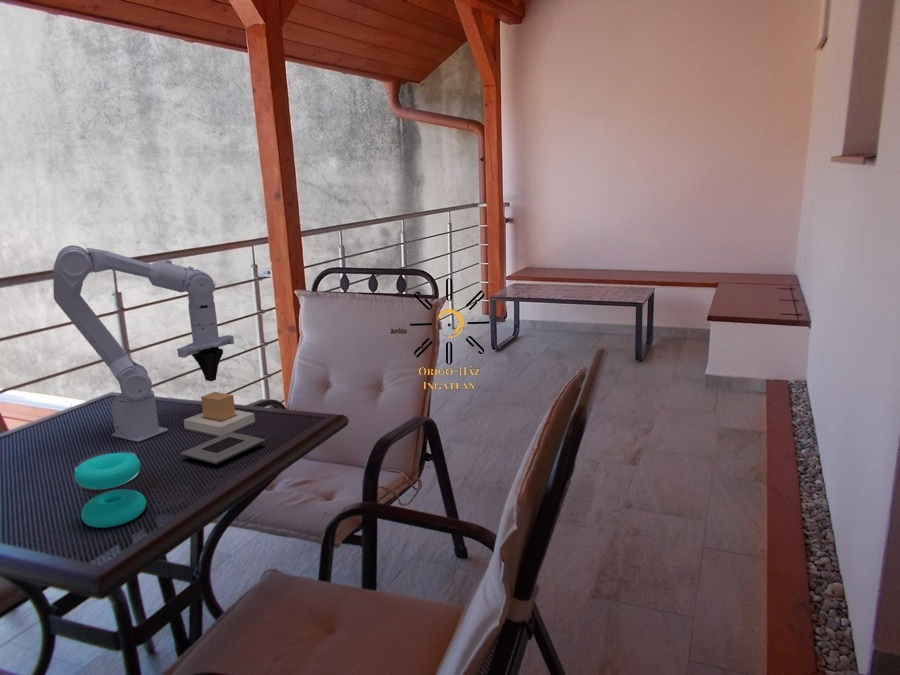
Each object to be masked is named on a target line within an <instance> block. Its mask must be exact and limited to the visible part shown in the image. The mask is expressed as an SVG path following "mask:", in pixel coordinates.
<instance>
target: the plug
mask: <svg viewBox="0 0 900 675" xmlns="http://www.w3.org/2000/svg"><path fill="white" fill-rule="evenodd" d="M200 399H201V408H202V413H203V416H204V419H208V420H213V421H218V422H223V421H225V420H228V419H230V418H233V417H235V416H236V415H235V410H236V408H235V400H234V394H230V393H223V392H219V391H213V392H211V393H208V394H205V395H203V396H201V397H200Z"/></svg>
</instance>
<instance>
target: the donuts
mask: <svg viewBox="0 0 900 675" xmlns="http://www.w3.org/2000/svg"><path fill="white" fill-rule="evenodd" d="M140 469H141V461H140V459H139V458H138V457H137V456H136V455H134V454H132V453H128V452H127V453H126V452H113V453H107V454H101V455H98V456H94V457H92V458H89V459H86V460H85V461H83V462H81V463H80V464H79V465H78V466H77V467H76V469H74V470H75V471H74V473H73V474H74V475H73V476H74V481H75V482H76V483H77V485H79V486H80V487H82V488H86V489H88V490H89V489H90V490H106V489H112V488H115V487H116V488H117V487H118V486H121V485H124V484H126V483H128V482H129V481H131V480H132V479H133V478H135V477H136V476H137V474H138V473H139V472H140ZM146 507H147V500H146V497H145V496H144V495H143V494H142V493H141V492H139V491H137V490H134V489H126V488H124V489H123V488H119V489H113V490H108V491H105V492H102V493H99V494H97V495H96V496H93V497H92V498H91V499H90V500H88V501H87V502H86V503H85V504H84V506H83V507H82V509H81V511H80V512H81V513H80V514H81V515H80V518H81V520H82V522H83V523H84V524H85V525H87V526H89V527H92V528H97V529H98V528H99V529H103V528H113V527H116V526H120V525H123V524H127V523H130V522H131V521H133V520H135V519H136V518H138V517H140V516H141V514H143V512H144V511H145V508H146Z"/></svg>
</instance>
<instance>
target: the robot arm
mask: <svg viewBox="0 0 900 675" xmlns="http://www.w3.org/2000/svg"><path fill="white" fill-rule="evenodd" d="M92 268H93V272H94V273H95V274H97V273H100V272H103V271H107V270H111V271H112V270H113V271H116V272H121V273H124V274H125V273H126V274H130V275H133V276H138V277H142V278H146V279H148V280H149V282H150V284H151V285H152V286H154V287H157V288H162V289H167V290H169V291H170V290H171V291H175V292H178V293H187V298H188V305H187V306H188V312H189V313H188V314H189V321H190V329H191V337H192V342H191V343H189V344H187V345H184V346H181V347H179V348H177V350H176V351H177V357H178V358H184V359H185V358H188V357H189V356H192V358H193V359H194V360H195V361H196V362H197V365H198V366H199V367H200V370H201V371H202V374H203V376H204V379H205V381H206V382H214V381H216V380H217V375H218V369H219V366H220V365H219V364H220V361H221V359H222V356H223V354H224V350H223V348H220V347H223V346H227V345H234V344H235V339H234V335H228V334H227V335H223V336H219V329H218V319H217V313H216V312H217V310H216V303H215V301H214V300H215V299H214V298H215V297H214V292H215V289H216V283H215V282H214V280H213V277H211V276H210V275H209V274H208V273H206V272H205V271H202V270H200V269H196V268H195V269H194V267H193V266H187V267H185V266H181V265H178V264H175V263H173V262H172V260H170V259H167V258H166V259H164V261H163V260H157V261H155V262H153V263H148V262H145V261H141V260H138V259H134V258H133V257H128V256H124V255H121V254H119V253H118V254H117V253H115V252H111V251H109V250H102V249H99V248H92V247H85V248H83V246H82V247H81V246H79V245H67V246H64V247H63V248H62V249H61V250H59V252H58V254H57V256H56V259H55V261H54V264H53V269H52V276H53V278H52V279H53V280H52V281H53V282H52V283H53V284H52V285H53V300H54V301H55V304H57V305H58V307H59V308H60V310H62V312H64V314H65V315H66V316H67V318H68V319H69V321H71V322H72V324H73V325H74V326H75V327H76V328H77V330H78V331H79V332H80V333H81V335H82V336H83V337H84V339H85V340H86V341H87V342H88V343H89V345H90V346H91V347H92V349H93V350H94V351H95V352H96V353H97V355H98V356H99V357H100V358H101V361H103V362H104V363H105V365H106V366H107V367H108V368H109V370H110V371H111V373H112V375H113V376H114V378H115V379H116V380H117V382H118V384H119V387H120V391H121V393H120V394H119V395H118V396H116V397H115V399H114V400H113V402H112V406H111V413H112V420H113V425H114V426H113V427H114V431H115V432H114V433H111V436H112V437H115V438H118V439H123V440H128V441H132V442H134V443H135V442H136V443H140V442H143V441H144V440H147V439H150V438H152V437H155V436H157V435H160V434H163V433H165V432H168V431H169V429H168V428H167V427H162V426H160V425H159V418H158V411H157V403H156V398H155V397H156V396H155V392H154V390H152V389H153V388H152V387H153V382H152V380H151V377H150V376H149V374H148V371H147V369H146V368H145V367H144V366H143V365H142V364H140V363H137V362H135V361H134V360H133V359H132V357H131V356H130V355H129V354H128V353H127V352H126V351H125V349H123V348H124V347H122V346H121V345H120V343H119V342H118V341H117V339H116V338H115V337H114V336H113V334H112V333H111V332H110V330H108V328H107V326H105V325H104V323H103V322H102V320H101V319H100V318H99V317H98V316H97V314H96V313H95V312H94V311H93V309H92V308H91V307H90V305H89V304H88V302H86V300H85V299H84V297H82V295H81V294H82V293H81V292H82V288H83V285H84V281H85V280H86V278H87V277H88V275H89V273H90V272H91V270H92Z"/></svg>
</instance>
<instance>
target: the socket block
mask: <svg viewBox="0 0 900 675" xmlns="http://www.w3.org/2000/svg"><path fill="white" fill-rule="evenodd" d="M235 415H236V416H235V417H233V418H230V419H228V420H225V421H223V422H218V421H213V420H208V419H204V416H203V412H200V413H198V414H196V415H193V416H190V417H187V418H185V419H183V426H184V431H188V432H192V433H195V434H200V435H201V434H202V435H205V434H206V436H210V437H214V438H217V437H219V436H221V435H224V434H226V433H228V432H235V433H237V432H239V431H241V429H242V430H244V429H246V428H248V426H249V427H251V426H253V425H255V424H256V419H255V418H256V415H255V413H254V412H249V411H242V410H240V409H239V410H238V409H235ZM250 425H251V426H250ZM245 427H246V428H245ZM243 428H244V429H243ZM238 430H239V431H238ZM236 431H237V432H236Z"/></svg>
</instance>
